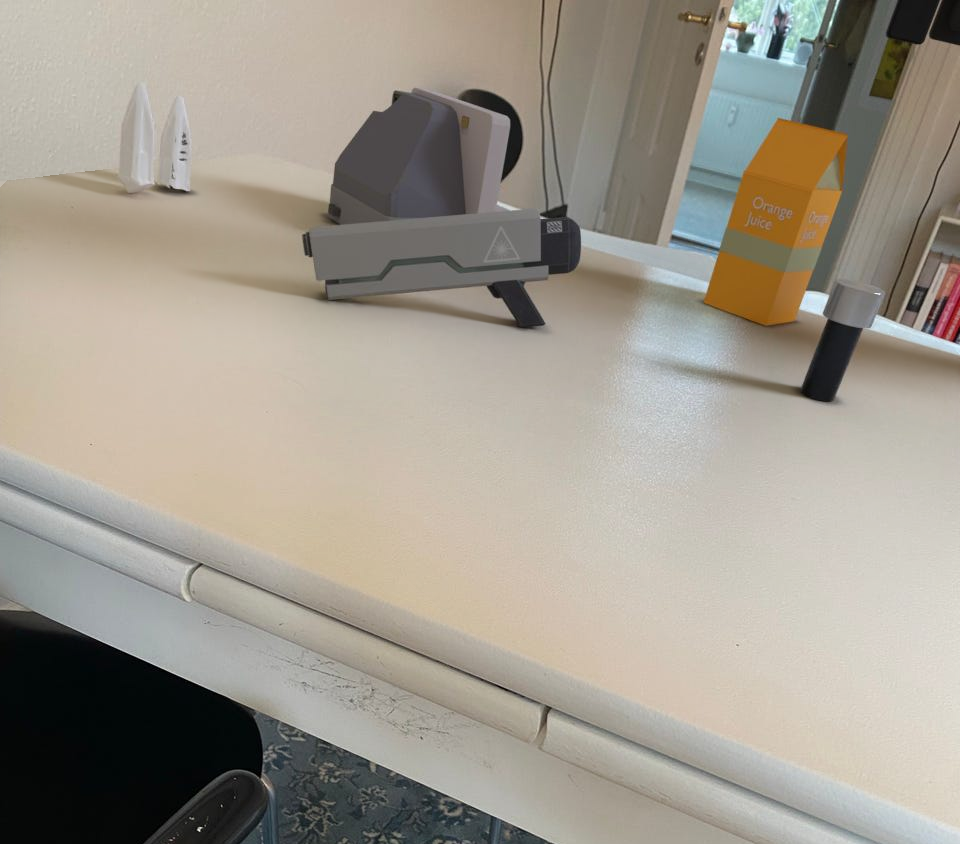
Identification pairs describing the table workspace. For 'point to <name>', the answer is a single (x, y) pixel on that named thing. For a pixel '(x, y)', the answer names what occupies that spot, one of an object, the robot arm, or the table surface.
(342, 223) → the instant camera
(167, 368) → the table surface
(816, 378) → the torch
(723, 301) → the orange juice
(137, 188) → the shaker set
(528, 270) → the gun
